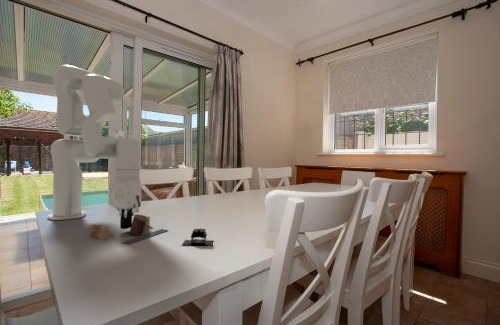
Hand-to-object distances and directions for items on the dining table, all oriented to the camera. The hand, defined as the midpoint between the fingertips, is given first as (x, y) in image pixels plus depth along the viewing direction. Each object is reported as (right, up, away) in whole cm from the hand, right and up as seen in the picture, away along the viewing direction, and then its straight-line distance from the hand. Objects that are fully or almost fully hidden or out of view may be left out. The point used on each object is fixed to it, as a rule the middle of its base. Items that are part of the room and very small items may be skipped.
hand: (126, 227), depth 84 cm
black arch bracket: (+27, -3, -9) cm, 28 cm away
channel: (-2, -1, +1) cm, 2 cm away
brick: (+4, -1, 0) cm, 4 cm away
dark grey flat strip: (+9, -2, -4) cm, 10 cm away
